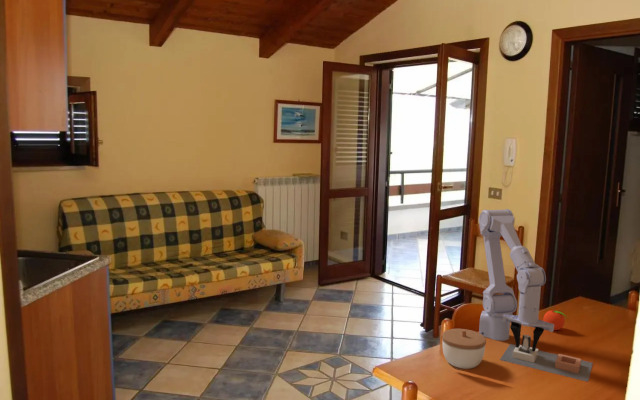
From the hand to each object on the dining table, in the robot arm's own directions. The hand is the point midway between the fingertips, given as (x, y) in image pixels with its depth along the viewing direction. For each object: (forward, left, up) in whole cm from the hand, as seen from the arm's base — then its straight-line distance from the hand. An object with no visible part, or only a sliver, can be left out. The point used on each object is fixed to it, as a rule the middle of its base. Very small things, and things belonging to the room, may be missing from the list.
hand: (525, 348), depth 158 cm
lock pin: (0, 0, -3) cm, 3 cm away
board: (+6, 0, -4) cm, 7 cm away
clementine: (+4, +31, -4) cm, 31 cm away
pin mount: (0, 0, -3) cm, 3 cm away
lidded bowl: (-15, -15, -4) cm, 22 cm away
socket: (+12, 0, -3) cm, 12 cm away
